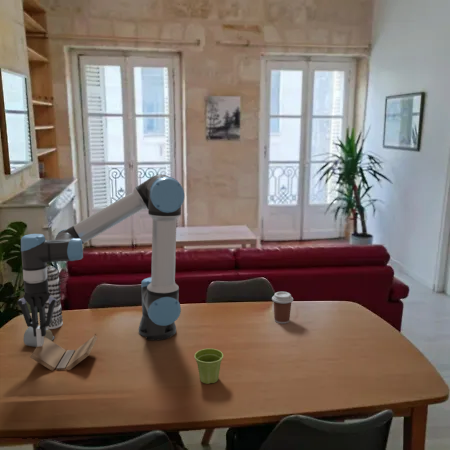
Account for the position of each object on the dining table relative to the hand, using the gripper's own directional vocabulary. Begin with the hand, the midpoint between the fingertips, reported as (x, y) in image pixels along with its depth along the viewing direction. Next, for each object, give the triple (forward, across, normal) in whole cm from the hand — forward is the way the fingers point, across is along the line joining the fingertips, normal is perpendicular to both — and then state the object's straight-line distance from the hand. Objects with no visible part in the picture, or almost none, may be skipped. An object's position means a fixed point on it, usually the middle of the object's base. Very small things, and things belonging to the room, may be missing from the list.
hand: (40, 344), depth 157 cm
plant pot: (+7, -58, +14) cm, 60 cm away
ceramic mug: (+8, +5, -15) cm, 18 cm away
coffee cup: (+7, -91, -32) cm, 97 cm away
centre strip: (+7, -8, 0) cm, 11 cm away
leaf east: (+4, -2, 0) cm, 4 cm away
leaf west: (+4, -14, 0) cm, 15 cm away
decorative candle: (+8, +7, -34) cm, 35 cm away
